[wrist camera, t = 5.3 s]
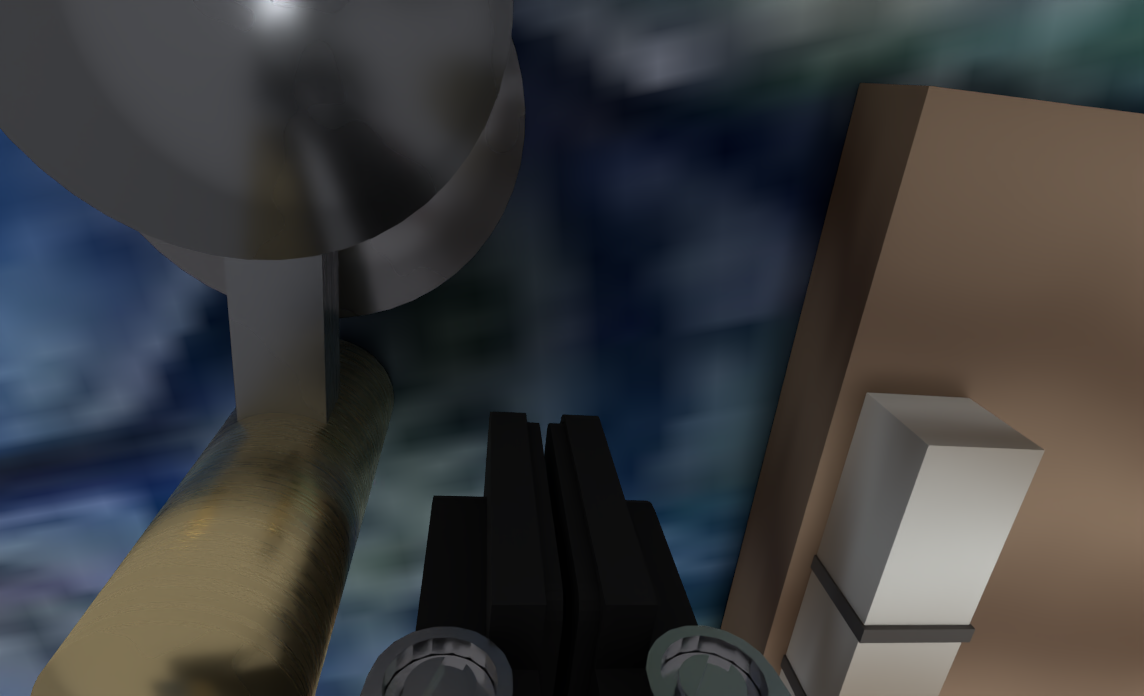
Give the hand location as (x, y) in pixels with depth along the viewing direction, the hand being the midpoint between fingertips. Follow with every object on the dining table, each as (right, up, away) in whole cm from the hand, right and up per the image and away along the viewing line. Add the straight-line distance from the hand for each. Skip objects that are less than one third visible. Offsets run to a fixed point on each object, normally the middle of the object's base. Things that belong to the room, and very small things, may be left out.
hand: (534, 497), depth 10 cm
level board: (+9, -3, +6) cm, 11 cm away
